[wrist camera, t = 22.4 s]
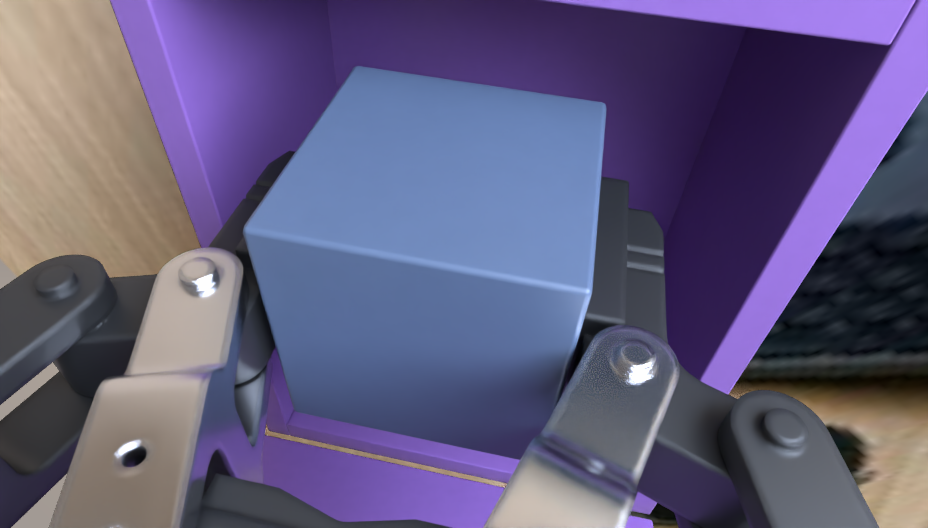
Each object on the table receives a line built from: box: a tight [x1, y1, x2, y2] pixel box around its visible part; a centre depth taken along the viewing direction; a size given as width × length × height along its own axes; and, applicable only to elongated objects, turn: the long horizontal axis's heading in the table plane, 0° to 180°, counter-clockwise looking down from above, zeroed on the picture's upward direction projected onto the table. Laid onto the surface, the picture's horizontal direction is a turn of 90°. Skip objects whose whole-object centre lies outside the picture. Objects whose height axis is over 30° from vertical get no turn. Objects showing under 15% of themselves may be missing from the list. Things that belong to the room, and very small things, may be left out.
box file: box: [110, 0, 928, 514], centre depth 17 cm, size 17×13×8 cm
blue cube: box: [243, 66, 606, 460], centre depth 11 cm, size 5×5×5 cm
